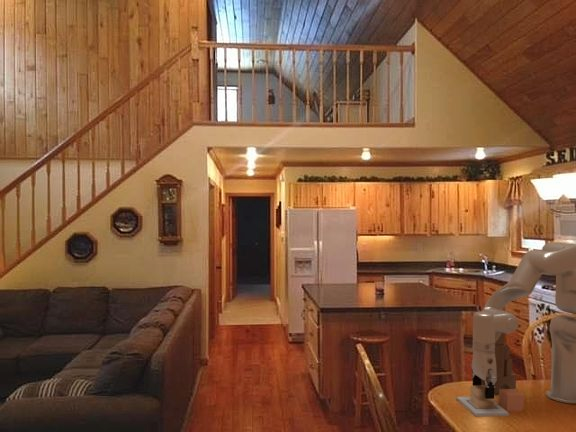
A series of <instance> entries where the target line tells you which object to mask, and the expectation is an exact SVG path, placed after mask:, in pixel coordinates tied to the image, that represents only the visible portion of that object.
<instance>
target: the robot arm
mask: <svg viewBox="0 0 576 432" xmlns="http://www.w3.org/2000/svg"><path fill="white" fill-rule="evenodd" d="M542 275H547V276H555V295H554V297H555V299H554V301H555V302H554V303H555V306H556V308H557V309H558V310H560V311H562V312H564V313H568V314H571V315H575V316H576V243H575V244H574V243H564V242H547V243H545V244H544V245H542V247H541V250H537V249H532V250H528V251H526V253H525V254H524V255H523V256H522V259H520V261H519V263H518V266H517V267H516V269H515V271H514V272H513V274H512V276H511V278H510V279H509V281H508V282H507V283H506V284H505V285H503V286H502V287H500V288H498V289H497V290H496V291H495V292H493V294H491V295H490V296H489V298H488V299H487V301H486V303H485V305H484V306H483V308H482V310H481V311H476V312H474V313H473V315H472V360H471V361H472V362H471V363H470V364H471V365H470V366H471V373H472V374H471V377H472V385H481V382H482V380H484V381H485V384H486V387H485V398H486V399H494V400H495V395H494V388H495V385H496V381H497V371H496V358H495V353H494V352H495V333H496V332H500V333H504V334H510V333H511V334H512V333H513V332H515V331H516V330H517V329H518V328H519V324H520V323H519V319H518V317H517V316H516V315H515V314H513V313H512V312H509V311H506V310H504V308H505V307H506V306H507V305H508V304H509V303H511V302H512V301H515V300H518V299H522V298H525V297H528V296H530V295H531V294H532V293H533V292H534V289H535V288H536V286H537V284H538V282H539V280H540V279H541V278H542ZM571 315H566V314H559V315H556V316H554V317H553V318H552V319H551V320H550V323H549V333H550V337H551V371H550V372H551V377H550V378H551V379H550V389H548V390H547V391H546V392H545V394H546V396H547V398H549V399H551V400H552V401H553V400H554V401H556V402H560V403H564V404H572V405H573V404H576V317H575V316H571ZM488 381H491V382H490V383H489V384H488Z"/></svg>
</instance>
